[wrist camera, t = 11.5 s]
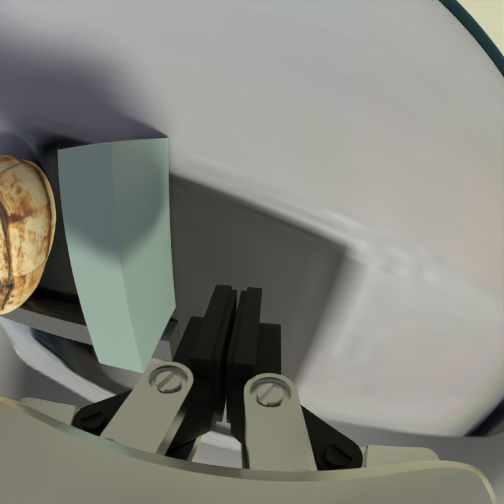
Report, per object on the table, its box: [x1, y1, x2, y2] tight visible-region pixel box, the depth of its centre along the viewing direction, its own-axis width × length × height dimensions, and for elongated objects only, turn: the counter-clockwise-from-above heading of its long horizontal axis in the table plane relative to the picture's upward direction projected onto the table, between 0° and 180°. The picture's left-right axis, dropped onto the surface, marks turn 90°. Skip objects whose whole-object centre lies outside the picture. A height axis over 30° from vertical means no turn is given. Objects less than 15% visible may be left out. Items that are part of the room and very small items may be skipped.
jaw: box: [58, 138, 176, 373], centre depth 15 cm, size 3×12×7 cm, turn 177°
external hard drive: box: [440, 0, 504, 75], centre depth 9 cm, size 24×12×2 cm, turn 53°
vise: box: [0, 294, 180, 361], centre depth 17 cm, size 28×16×7 cm, turn 87°
